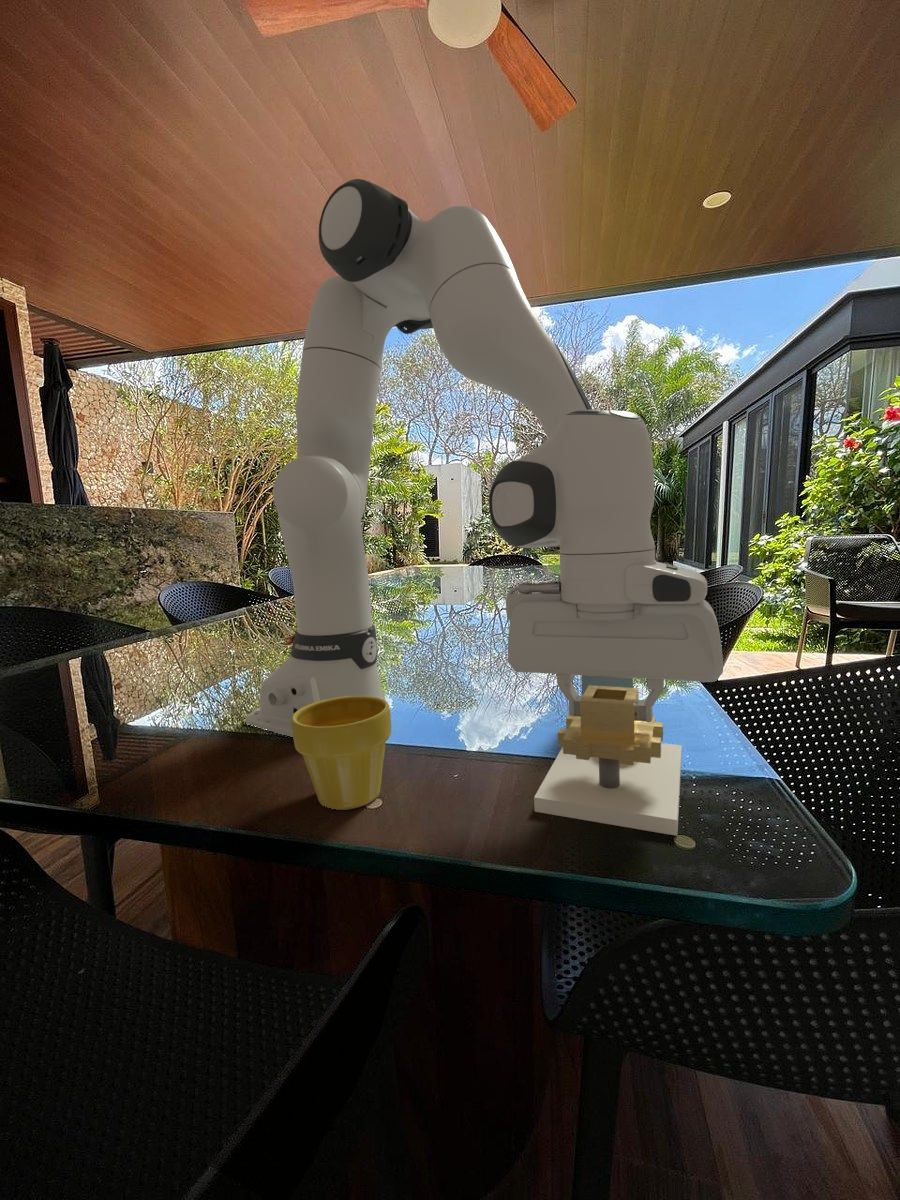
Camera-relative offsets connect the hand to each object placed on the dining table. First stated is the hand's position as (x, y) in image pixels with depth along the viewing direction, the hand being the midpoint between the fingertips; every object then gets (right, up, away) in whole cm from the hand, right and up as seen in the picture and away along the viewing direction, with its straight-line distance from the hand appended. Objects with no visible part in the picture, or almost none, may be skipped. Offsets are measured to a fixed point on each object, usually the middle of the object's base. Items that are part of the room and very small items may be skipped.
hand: (610, 717), depth 54 cm
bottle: (+7, -5, +23) cm, 25 cm away
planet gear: (0, -3, 0) cm, 3 cm away
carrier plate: (+2, -8, +4) cm, 9 cm away
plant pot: (-27, -10, +5) cm, 29 cm away
